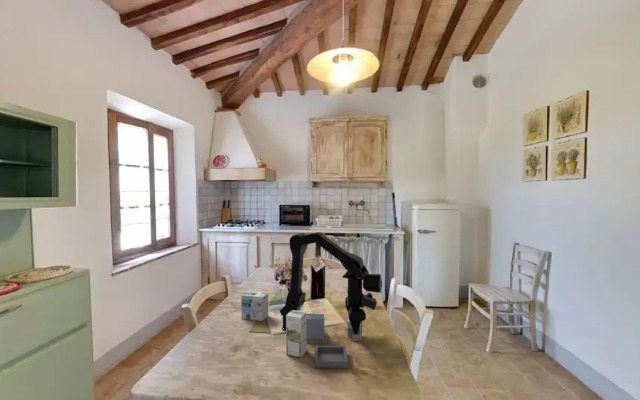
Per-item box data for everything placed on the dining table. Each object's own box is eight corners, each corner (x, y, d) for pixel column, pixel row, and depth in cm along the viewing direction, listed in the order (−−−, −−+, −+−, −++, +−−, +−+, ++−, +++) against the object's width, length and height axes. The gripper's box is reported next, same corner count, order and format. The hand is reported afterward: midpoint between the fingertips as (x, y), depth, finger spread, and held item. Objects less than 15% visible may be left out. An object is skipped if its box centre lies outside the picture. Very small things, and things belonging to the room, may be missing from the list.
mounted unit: (299, 343, 125) (299, 319, 125) (300, 335, 132) (300, 312, 132) (328, 343, 125) (328, 319, 125) (327, 335, 132) (327, 312, 132)
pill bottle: (352, 333, 134) (352, 309, 134) (364, 337, 130) (364, 312, 130) (344, 338, 129) (344, 313, 129) (356, 342, 126) (356, 316, 125)
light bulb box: (240, 318, 149) (240, 294, 148) (248, 313, 155) (247, 290, 155) (262, 321, 146) (262, 297, 146) (269, 315, 152) (269, 292, 152)
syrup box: (307, 350, 120) (307, 311, 119) (300, 358, 114) (300, 317, 113) (292, 348, 121) (292, 309, 121) (285, 355, 116) (285, 314, 115)
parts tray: (315, 368, 107) (315, 361, 107) (315, 352, 118) (315, 345, 118) (347, 368, 108) (347, 361, 107) (345, 352, 118) (345, 345, 118)
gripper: (380, 297, 120) (379, 339, 120) (371, 282, 139) (371, 319, 139) (349, 297, 120) (348, 339, 120) (345, 282, 138) (344, 319, 139)
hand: (354, 328), depth 130 cm, fingers open, 9 cm apart
